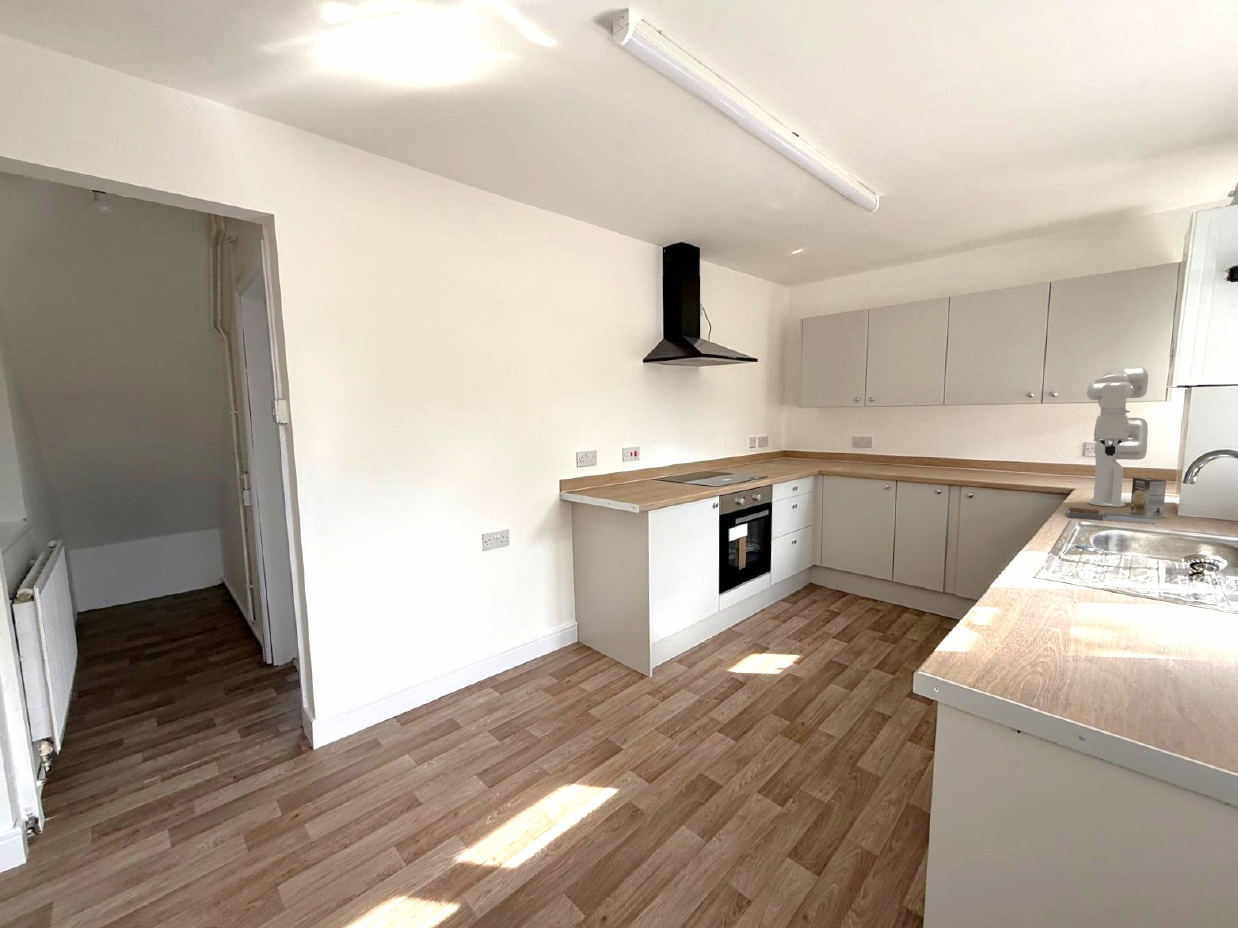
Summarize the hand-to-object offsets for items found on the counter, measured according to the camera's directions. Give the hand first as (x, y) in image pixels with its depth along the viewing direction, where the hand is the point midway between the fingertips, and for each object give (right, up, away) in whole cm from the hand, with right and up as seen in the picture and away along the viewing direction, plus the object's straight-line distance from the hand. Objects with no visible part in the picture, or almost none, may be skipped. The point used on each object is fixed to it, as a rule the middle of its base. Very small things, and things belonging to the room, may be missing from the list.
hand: (1109, 455), depth 215 cm
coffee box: (+16, -26, +1) cm, 31 cm away
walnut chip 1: (-12, -26, +3) cm, 29 cm away
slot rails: (+1, -27, -6) cm, 28 cm away
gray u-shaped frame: (-9, -26, +1) cm, 28 cm away
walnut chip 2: (-8, -27, 0) cm, 28 cm away
